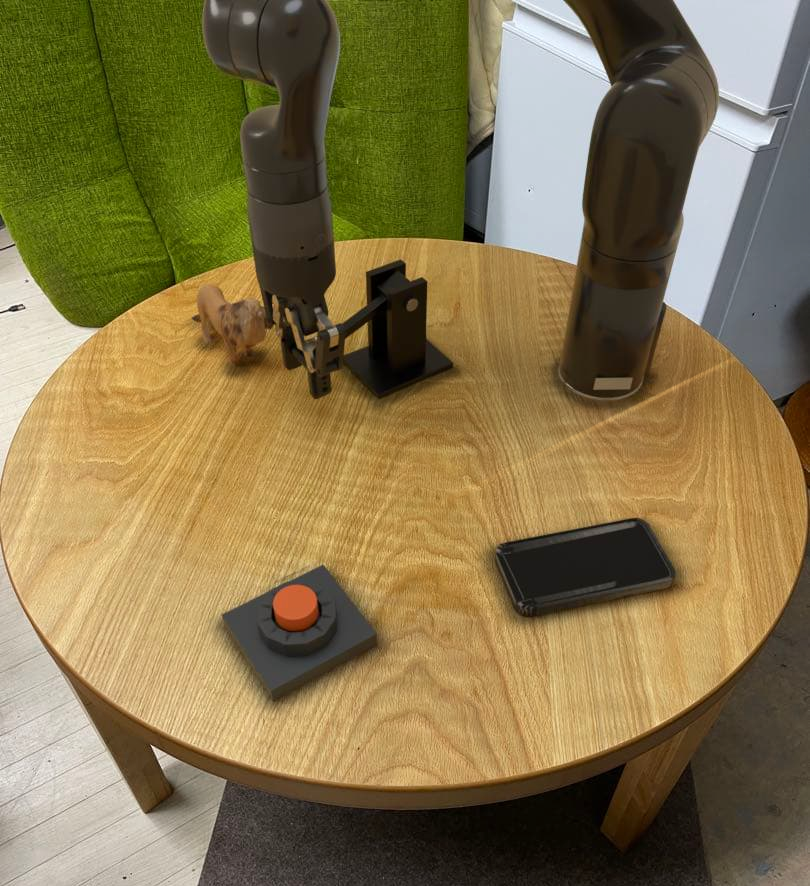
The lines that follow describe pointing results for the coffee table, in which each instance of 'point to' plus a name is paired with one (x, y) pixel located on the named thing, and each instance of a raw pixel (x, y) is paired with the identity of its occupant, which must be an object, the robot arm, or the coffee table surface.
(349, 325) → the switch lever
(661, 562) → the phone
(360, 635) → the control block
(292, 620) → the button
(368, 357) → the switch bracket
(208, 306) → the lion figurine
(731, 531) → the coffee table surface
